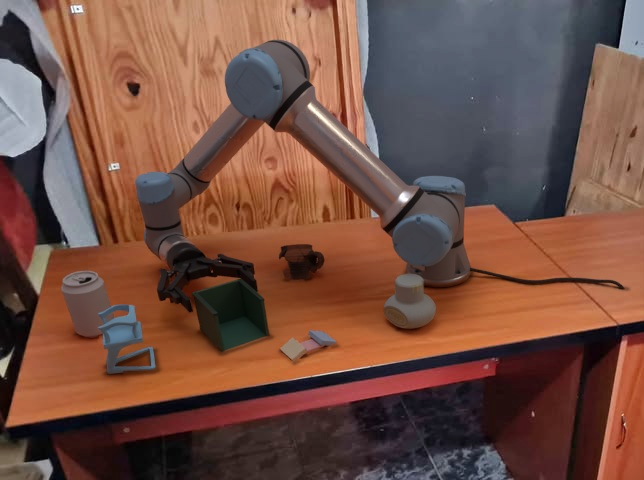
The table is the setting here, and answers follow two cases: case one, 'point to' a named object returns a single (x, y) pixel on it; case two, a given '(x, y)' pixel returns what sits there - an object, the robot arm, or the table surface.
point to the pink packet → (311, 345)
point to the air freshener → (409, 303)
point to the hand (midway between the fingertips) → (223, 296)
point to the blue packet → (321, 337)
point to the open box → (231, 314)
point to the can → (86, 301)
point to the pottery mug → (301, 260)
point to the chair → (122, 338)
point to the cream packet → (293, 349)
